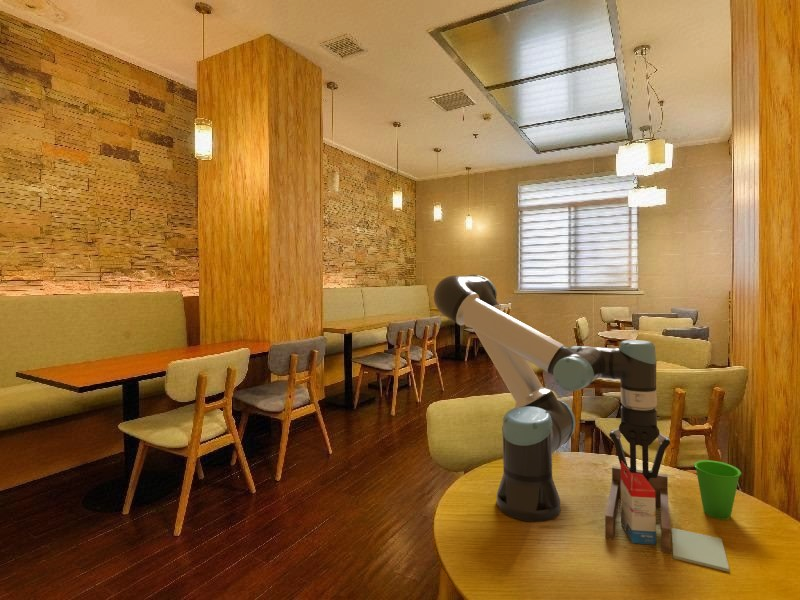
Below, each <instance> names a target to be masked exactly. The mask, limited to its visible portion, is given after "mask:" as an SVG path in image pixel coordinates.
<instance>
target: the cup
mask: <svg viewBox="0 0 800 600" xmlns="http://www.w3.org/2000/svg"><path fill="white" fill-rule="evenodd" d="M693 466H694V468H695V470H696V476H697V482H698V487H699V493H700V499H701V502H702V509H703V511H704V514H706V515H707V516H709V517H711V518H714V519H718V520H729V519H730V518H731V516H732V512H733V506H734V503H735V497H736V492H737V488H738V483H739V478H740V477H741V476H742V472H741V470H740V469H739V468H737V467H736V466H734V465H731V464H729V463H727V462H722V461H717V460H716V461H715V460H708V459H707V460H706V459H704V460H703V459H702V460H701V459H700V460H697V461H696V462H694V464H693Z"/></svg>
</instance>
